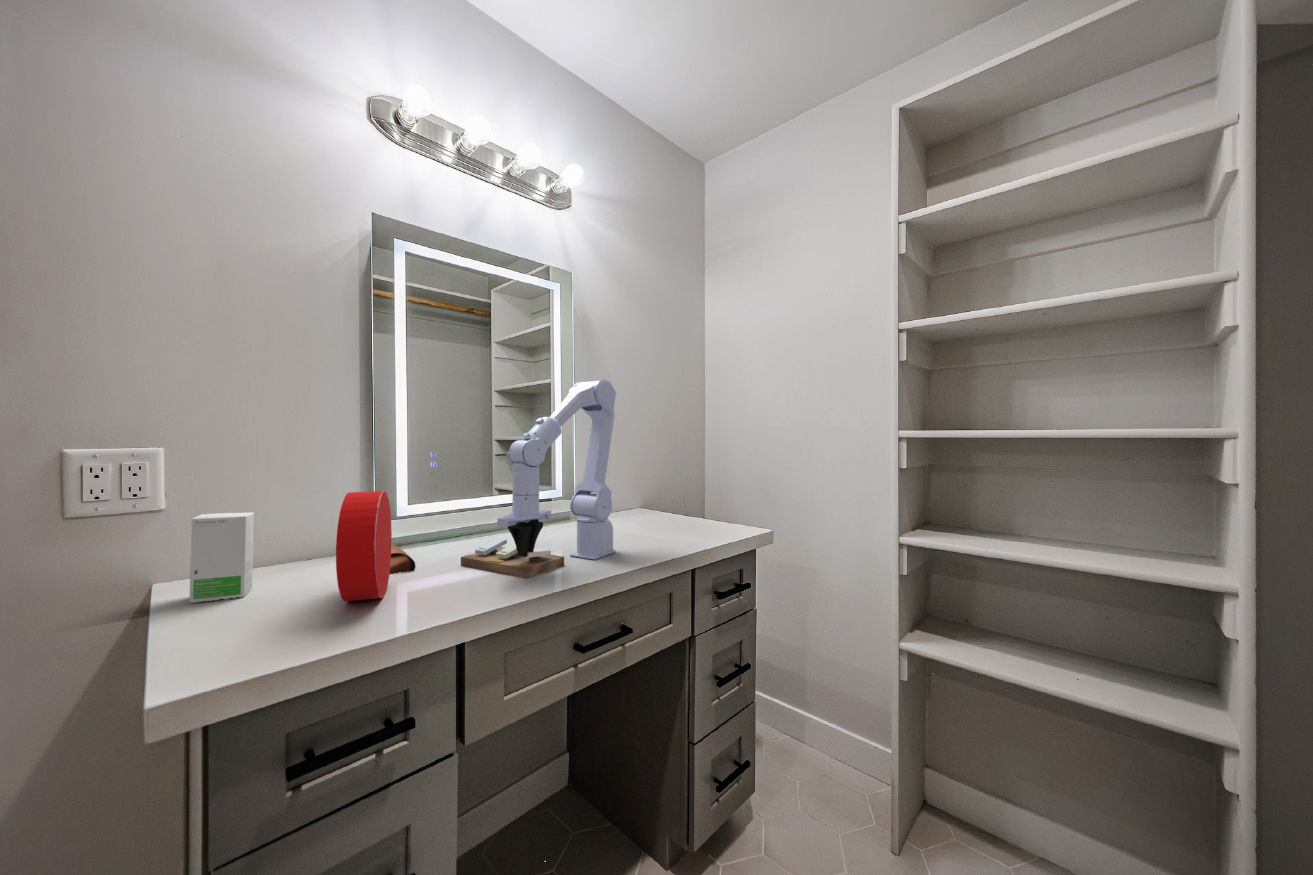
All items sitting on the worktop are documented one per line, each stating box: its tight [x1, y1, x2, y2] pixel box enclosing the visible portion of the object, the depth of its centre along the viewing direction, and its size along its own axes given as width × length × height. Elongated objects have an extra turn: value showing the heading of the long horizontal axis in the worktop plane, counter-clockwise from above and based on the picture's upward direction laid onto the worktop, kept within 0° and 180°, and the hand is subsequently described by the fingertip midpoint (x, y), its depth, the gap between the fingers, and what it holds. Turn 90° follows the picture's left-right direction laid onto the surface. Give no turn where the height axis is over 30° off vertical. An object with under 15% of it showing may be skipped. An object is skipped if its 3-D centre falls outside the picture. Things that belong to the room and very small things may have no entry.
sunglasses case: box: [389, 542, 416, 575], centre depth 118 cm, size 18×7×7 cm
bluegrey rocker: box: [474, 537, 508, 555], centre depth 121 cm, size 7×3×1 cm, turn 150°
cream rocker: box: [527, 548, 552, 558], centre depth 114 cm, size 7×3×1 cm, turn 150°
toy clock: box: [335, 490, 393, 603], centre depth 95 cm, size 20×6×20 cm, turn 21°
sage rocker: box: [496, 542, 518, 559], centre depth 118 cm, size 7×3×1 cm, turn 150°
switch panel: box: [460, 546, 565, 579], centre depth 118 cm, size 12×21×3 cm, turn 60°
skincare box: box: [189, 512, 255, 604], centre depth 96 cm, size 8×7×16 cm
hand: (525, 555), depth 112 cm, fingers closed on cream rocker
